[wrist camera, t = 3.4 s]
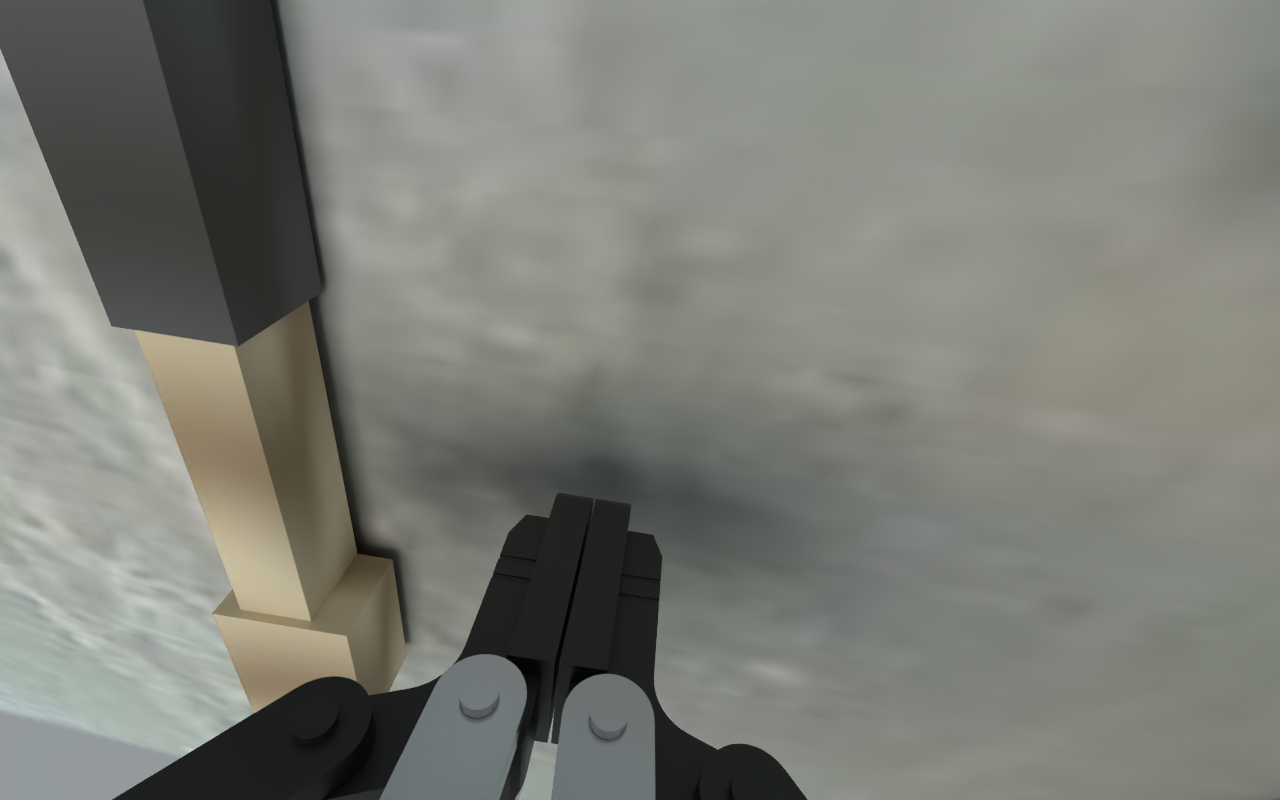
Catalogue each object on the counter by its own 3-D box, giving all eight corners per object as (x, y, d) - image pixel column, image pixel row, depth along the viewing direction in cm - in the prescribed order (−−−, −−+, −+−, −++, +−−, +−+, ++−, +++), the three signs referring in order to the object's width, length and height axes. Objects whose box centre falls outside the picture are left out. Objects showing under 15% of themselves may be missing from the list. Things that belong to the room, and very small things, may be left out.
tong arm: (45, -269, 7) (-214, -391, 5) (283, -233, 7) (119, -340, 5) (307, 633, 17) (253, 713, 15) (408, 650, 17) (368, 732, 15)
